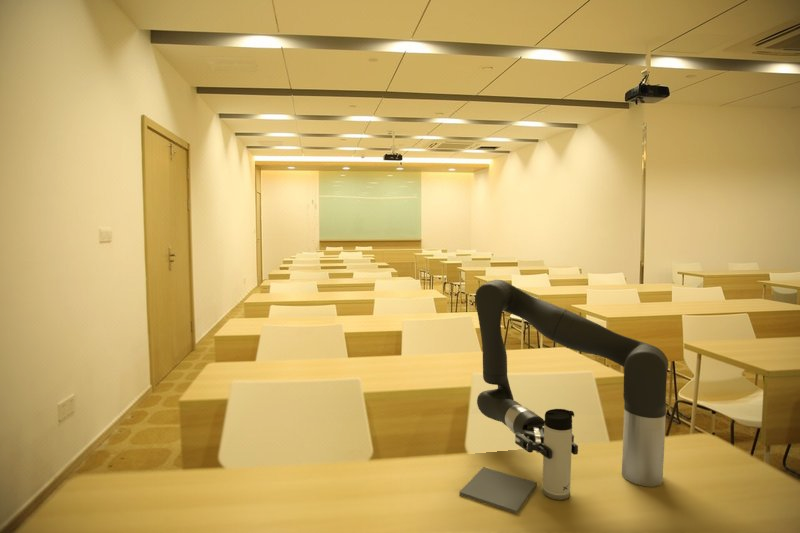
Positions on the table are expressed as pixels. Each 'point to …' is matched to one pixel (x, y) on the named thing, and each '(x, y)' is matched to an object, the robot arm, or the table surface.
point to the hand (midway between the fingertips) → (563, 452)
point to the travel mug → (557, 453)
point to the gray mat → (499, 489)
